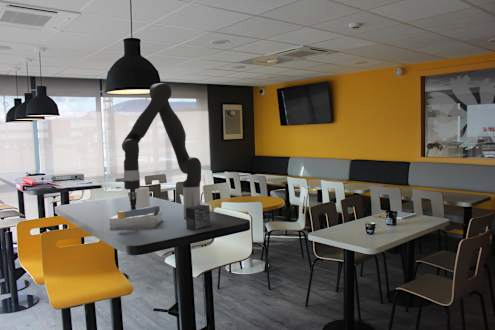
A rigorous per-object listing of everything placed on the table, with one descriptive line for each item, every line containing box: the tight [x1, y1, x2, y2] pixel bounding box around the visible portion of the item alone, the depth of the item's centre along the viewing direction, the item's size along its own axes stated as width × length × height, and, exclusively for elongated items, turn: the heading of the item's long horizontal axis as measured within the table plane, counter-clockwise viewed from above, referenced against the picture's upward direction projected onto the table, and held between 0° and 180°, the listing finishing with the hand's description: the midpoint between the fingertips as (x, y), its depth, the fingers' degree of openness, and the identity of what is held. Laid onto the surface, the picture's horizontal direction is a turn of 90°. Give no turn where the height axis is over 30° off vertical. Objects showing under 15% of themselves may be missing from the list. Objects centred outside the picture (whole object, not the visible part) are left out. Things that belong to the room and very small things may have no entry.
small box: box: [185, 204, 211, 231], centre depth 192 cm, size 11×6×10 cm, turn 141°
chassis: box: [109, 210, 163, 230], centre depth 204 cm, size 22×18×6 cm
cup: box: [135, 186, 151, 209], centre depth 229 cm, size 8×8×16 cm
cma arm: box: [116, 205, 161, 219], centre depth 198 cm, size 22×4×3 cm, turn 136°
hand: (133, 213), depth 199 cm, fingers closed
